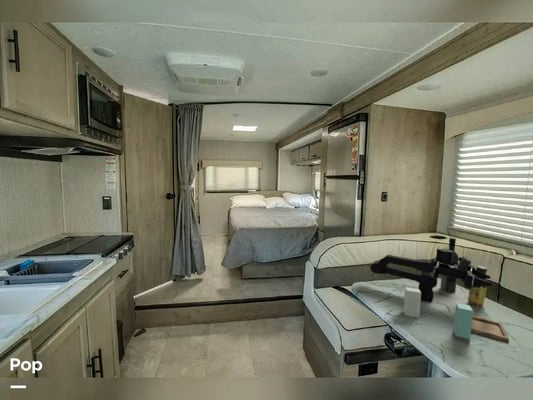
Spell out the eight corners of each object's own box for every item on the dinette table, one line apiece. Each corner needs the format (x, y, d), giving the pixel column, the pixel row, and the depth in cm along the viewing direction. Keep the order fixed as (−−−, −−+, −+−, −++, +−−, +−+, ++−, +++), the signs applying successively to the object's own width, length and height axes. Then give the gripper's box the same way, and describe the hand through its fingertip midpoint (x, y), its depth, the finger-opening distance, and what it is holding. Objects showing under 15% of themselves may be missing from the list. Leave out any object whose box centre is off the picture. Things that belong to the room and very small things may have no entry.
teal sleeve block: (455, 339, 102) (458, 308, 101) (452, 333, 106) (455, 303, 105) (469, 342, 100) (473, 310, 99) (466, 336, 104) (469, 305, 103)
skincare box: (417, 313, 121) (419, 288, 120) (419, 318, 117) (421, 292, 116) (402, 311, 123) (404, 286, 122) (404, 315, 119) (406, 290, 118)
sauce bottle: (464, 301, 134) (469, 264, 131) (475, 300, 134) (480, 264, 132) (475, 307, 127) (481, 269, 125) (487, 307, 128) (493, 269, 125)
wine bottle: (456, 292, 144) (461, 239, 141) (446, 292, 144) (451, 239, 141) (449, 288, 150) (454, 237, 147) (439, 287, 150) (444, 237, 147)
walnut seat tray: (466, 331, 108) (467, 327, 108) (463, 317, 119) (463, 313, 119) (508, 342, 101) (509, 338, 101) (500, 326, 112) (501, 322, 112)
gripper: (452, 261, 120) (496, 270, 111) (452, 251, 135) (492, 258, 126) (448, 283, 122) (492, 294, 113) (449, 271, 137) (488, 280, 127)
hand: (491, 280), depth 120 cm, fingers open, 9 cm apart
